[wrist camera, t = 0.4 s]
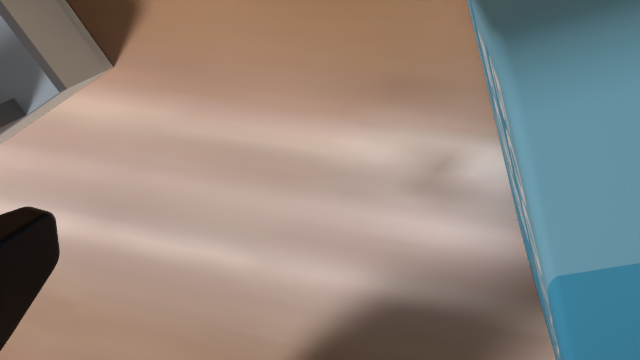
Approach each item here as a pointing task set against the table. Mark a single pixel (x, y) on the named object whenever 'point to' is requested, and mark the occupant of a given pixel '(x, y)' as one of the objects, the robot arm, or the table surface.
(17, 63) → the carton lid
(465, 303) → the table surface
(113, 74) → the table surface
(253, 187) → the table surface
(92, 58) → the carton
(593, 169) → the data package
